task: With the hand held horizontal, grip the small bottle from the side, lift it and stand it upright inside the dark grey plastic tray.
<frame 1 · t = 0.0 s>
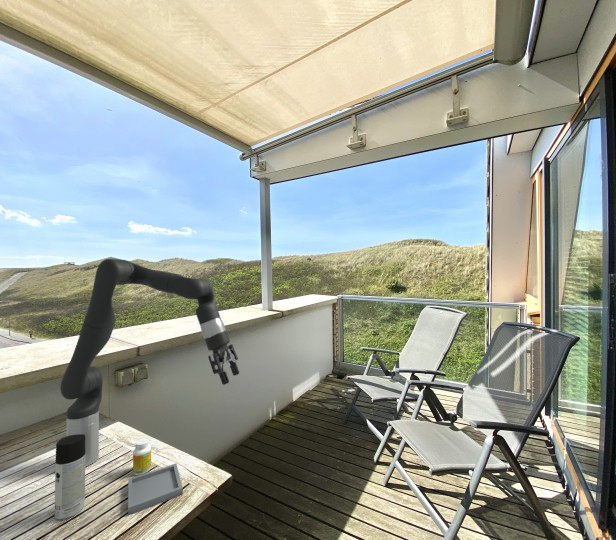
hand: (231, 379, 97), 31 cm above the table, tool tilted 20°, fingers open, 8 cm apart
spray can: (70, 511, 82), on the table
supplement bottle: (142, 470, 99), on the table
tray: (154, 489, 90), on the table
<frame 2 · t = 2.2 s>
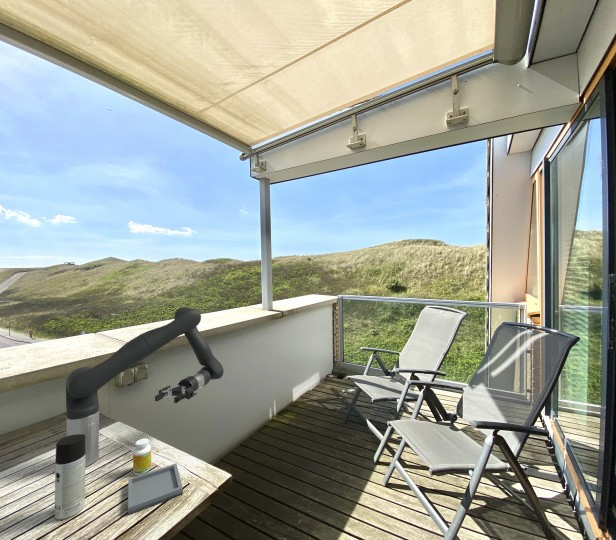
hand: (165, 399, 110), 19 cm above the table, tool horizontal, fingers open, 8 cm apart
nothing on the table moved.
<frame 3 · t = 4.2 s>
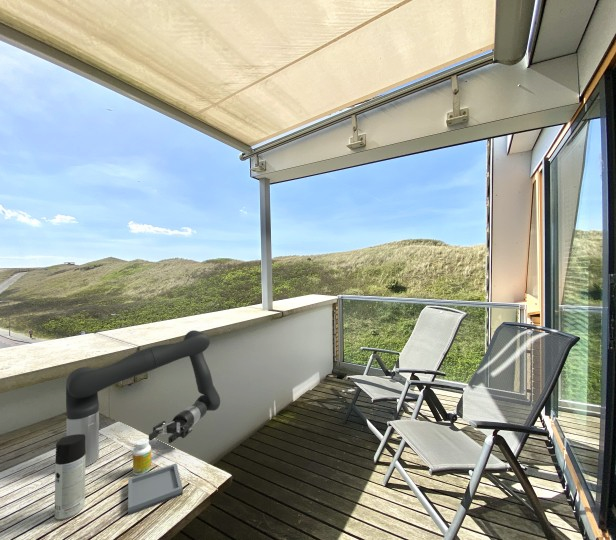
hand: (159, 439, 107), 6 cm above the table, tool horizontal, fingers open, 8 cm apart
nothing on the table moved.
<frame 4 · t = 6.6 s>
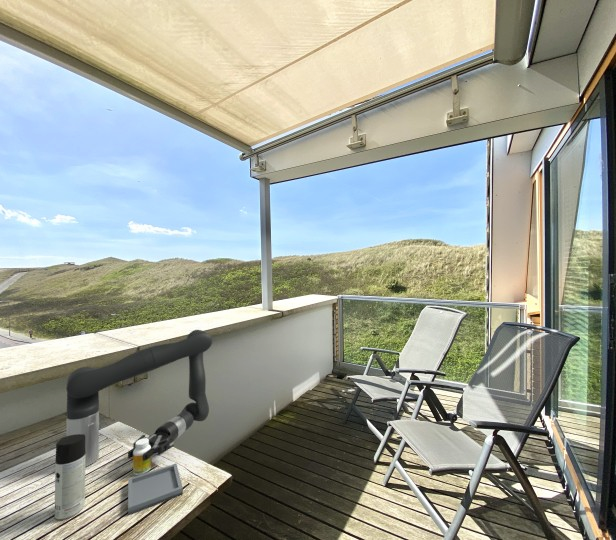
hand: (136, 456, 97), 6 cm above the table, tool horizontal, fingers closed on supplement bottle, 5 cm apart
supplement bottle: (142, 470, 99), on the table, touching gripper
everything else where it was.
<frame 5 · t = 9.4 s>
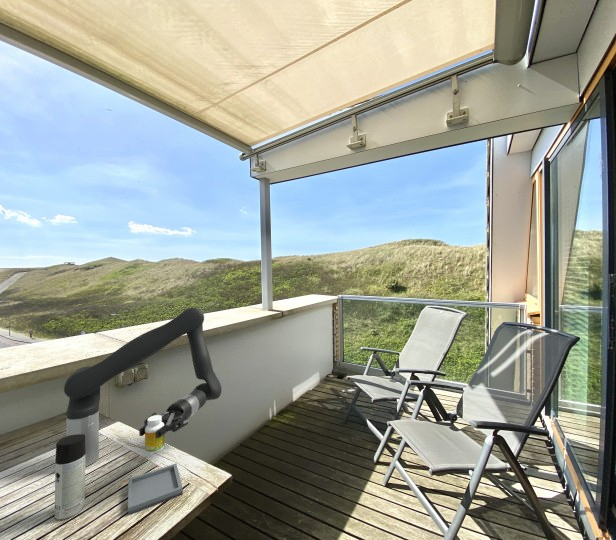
hand: (148, 433, 89), 18 cm above the table, tool horizontal, fingers closed on supplement bottle, 5 cm apart
supplement bottle: (154, 449, 91), point 11 cm above the table, touching gripper
everything else where it was.
when the fingers open (8 cm above the table, at t = 12.4 s): supplement bottle drops 1 cm, resting on tray.
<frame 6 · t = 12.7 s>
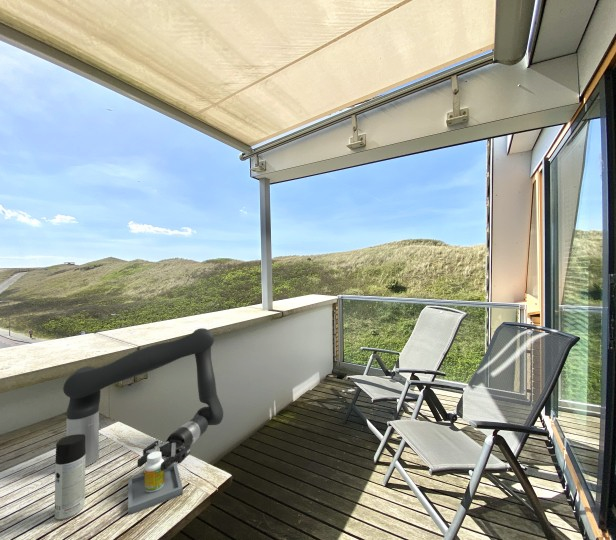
hand: (150, 465, 88), 9 cm above the table, tool horizontal, fingers open, 8 cm apart
supplement bottle: (154, 487, 90), point 1 cm above the table, touching tray
everything else where it was.
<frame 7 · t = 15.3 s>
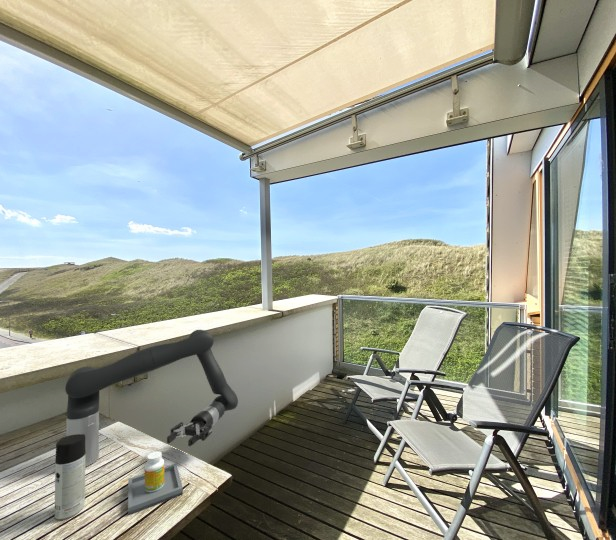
hand: (178, 442, 101), 9 cm above the table, tool horizontal, fingers open, 8 cm apart
nothing on the table moved.
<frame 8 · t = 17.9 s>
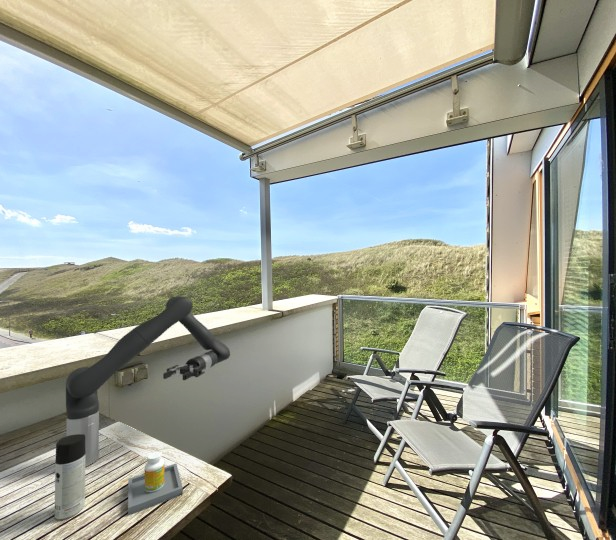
hand: (173, 377, 110), 28 cm above the table, tool horizontal, fingers open, 8 cm apart
nothing on the table moved.
at the end: supplement bottle inside the target area on the tray (0.2 cm from its centre), point 0.6 cm above the tray's base; supplement bottle tilted 0°; the gripper is holding nothing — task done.
